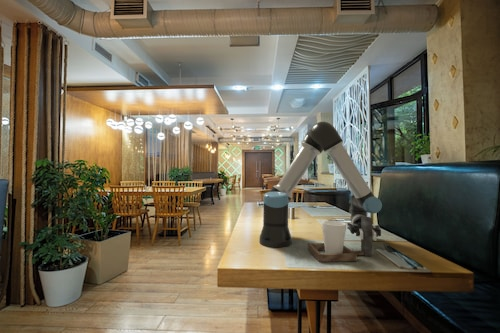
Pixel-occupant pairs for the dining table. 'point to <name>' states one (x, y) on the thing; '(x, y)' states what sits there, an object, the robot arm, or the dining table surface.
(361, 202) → the robot arm
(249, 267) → the dining table surface
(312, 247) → the sliding frame
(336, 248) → the foam cup
